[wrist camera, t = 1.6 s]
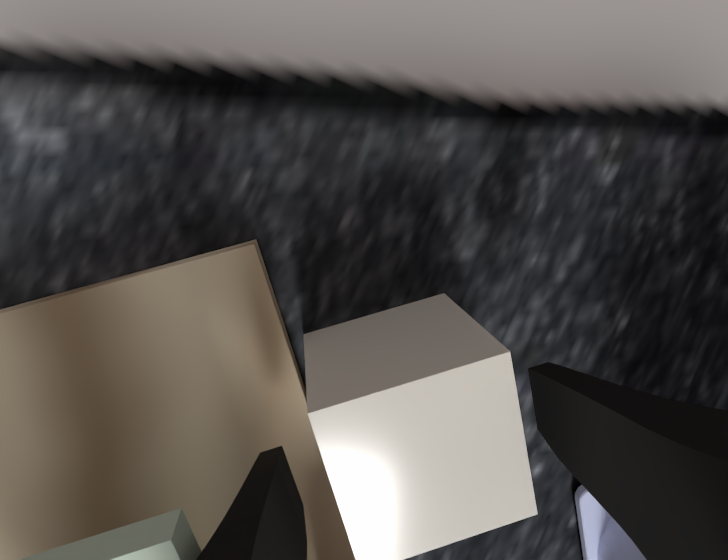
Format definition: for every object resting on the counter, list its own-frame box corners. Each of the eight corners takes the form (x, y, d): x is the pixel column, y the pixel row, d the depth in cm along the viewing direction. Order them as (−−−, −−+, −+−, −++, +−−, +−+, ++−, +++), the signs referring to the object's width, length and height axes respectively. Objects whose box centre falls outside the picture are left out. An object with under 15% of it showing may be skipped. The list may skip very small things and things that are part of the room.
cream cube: (443, 292, 15) (510, 351, 11) (468, 413, 17) (537, 514, 12) (303, 333, 15) (307, 413, 10) (341, 454, 16) (360, 574, 12)
